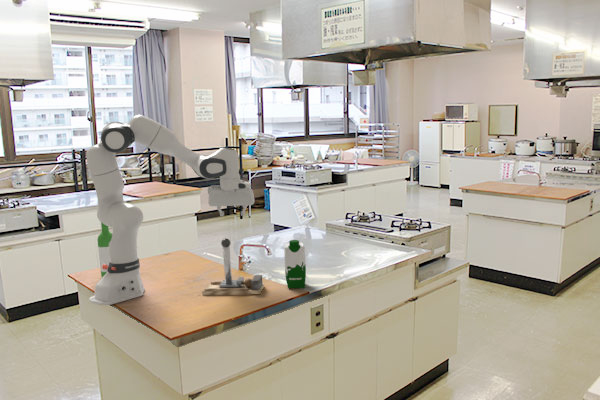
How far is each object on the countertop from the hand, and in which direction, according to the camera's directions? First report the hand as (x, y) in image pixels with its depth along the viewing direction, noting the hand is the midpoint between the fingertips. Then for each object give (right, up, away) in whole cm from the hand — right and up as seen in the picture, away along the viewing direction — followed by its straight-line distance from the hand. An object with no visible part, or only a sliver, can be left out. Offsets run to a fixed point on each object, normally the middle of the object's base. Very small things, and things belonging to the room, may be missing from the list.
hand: (232, 215), depth 219 cm
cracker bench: (+2, -31, -12) cm, 33 cm away
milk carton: (+28, -30, -9) cm, 42 cm away
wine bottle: (-61, -30, +17) cm, 70 cm away
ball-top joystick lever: (+2, -29, -12) cm, 32 cm away
